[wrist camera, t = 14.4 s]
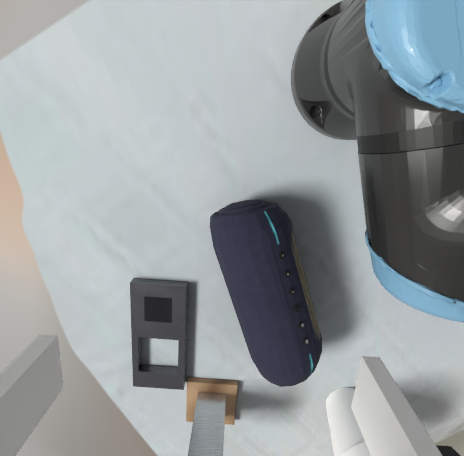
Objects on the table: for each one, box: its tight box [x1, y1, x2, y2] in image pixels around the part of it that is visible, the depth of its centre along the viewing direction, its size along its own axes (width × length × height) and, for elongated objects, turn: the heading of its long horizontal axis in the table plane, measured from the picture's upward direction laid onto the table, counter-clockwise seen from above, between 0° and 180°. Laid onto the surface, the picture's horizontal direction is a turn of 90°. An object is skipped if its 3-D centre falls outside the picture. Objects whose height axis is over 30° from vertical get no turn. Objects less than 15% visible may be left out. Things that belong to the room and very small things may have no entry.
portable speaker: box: [210, 200, 322, 387], centre depth 41 cm, size 25×10×10 cm, turn 17°
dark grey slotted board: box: [130, 278, 188, 390], centre depth 48 cm, size 8×18×2 cm, turn 176°
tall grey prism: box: [188, 392, 226, 456], centre depth 45 cm, size 4×4×12 cm
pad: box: [186, 377, 237, 425], centre depth 52 cm, size 8×8×1 cm
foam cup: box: [326, 387, 371, 456], centre depth 45 cm, size 10×9×13 cm
